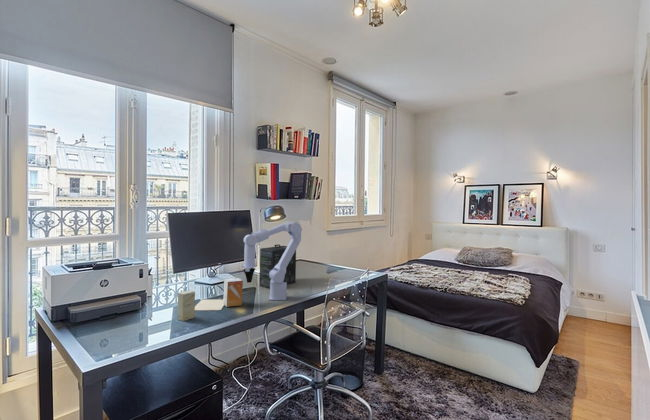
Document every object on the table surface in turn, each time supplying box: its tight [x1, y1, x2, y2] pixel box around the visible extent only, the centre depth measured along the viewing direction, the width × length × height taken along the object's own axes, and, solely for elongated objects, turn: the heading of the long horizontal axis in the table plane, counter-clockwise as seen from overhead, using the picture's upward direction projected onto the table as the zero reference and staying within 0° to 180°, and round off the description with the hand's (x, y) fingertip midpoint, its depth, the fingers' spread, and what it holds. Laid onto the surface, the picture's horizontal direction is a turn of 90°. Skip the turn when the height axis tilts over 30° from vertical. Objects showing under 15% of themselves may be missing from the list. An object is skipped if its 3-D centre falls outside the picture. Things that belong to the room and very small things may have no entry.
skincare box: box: [177, 290, 196, 322], centre depth 151 cm, size 6×4×12 cm
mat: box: [195, 298, 225, 312], centre depth 170 cm, size 14×17×1 cm
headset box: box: [259, 244, 297, 289], centre depth 213 cm, size 22×12×26 cm, turn 144°
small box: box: [222, 277, 244, 308], centre depth 171 cm, size 8×6×13 cm
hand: (249, 282), depth 177 cm, fingers closed
